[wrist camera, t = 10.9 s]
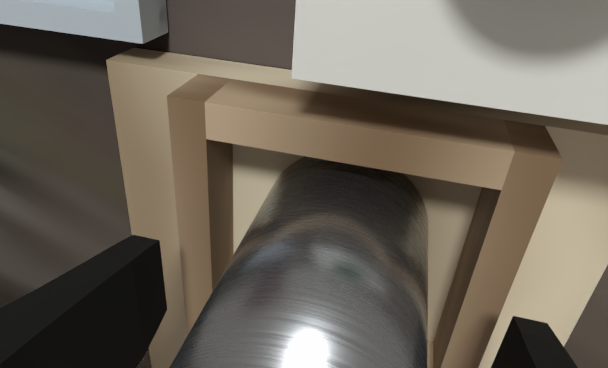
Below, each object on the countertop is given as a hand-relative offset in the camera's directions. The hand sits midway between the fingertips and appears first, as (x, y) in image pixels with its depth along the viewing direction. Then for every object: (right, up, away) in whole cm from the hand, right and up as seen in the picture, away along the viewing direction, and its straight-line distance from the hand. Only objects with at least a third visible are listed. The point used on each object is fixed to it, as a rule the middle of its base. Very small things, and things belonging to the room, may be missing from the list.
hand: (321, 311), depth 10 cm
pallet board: (+1, -1, +5) cm, 5 cm away
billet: (+1, +2, +2) cm, 3 cm away
